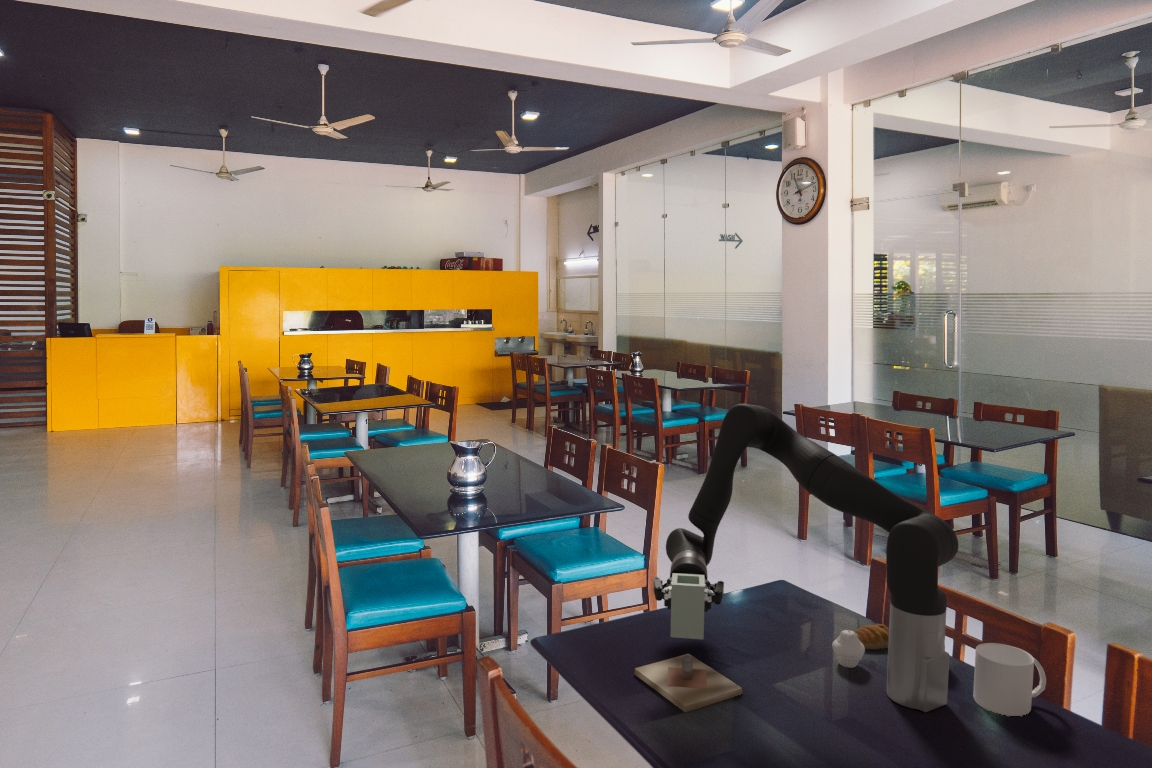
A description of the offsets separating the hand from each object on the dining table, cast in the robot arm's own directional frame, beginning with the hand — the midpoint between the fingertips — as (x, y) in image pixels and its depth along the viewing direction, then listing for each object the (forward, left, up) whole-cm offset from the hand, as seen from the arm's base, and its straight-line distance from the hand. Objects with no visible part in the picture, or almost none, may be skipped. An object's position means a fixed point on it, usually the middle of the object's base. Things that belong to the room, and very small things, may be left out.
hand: (687, 605), depth 139 cm
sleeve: (+2, -1, -6) cm, 6 cm away
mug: (-32, -47, -16) cm, 60 cm away
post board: (+2, -1, -16) cm, 16 cm away
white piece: (-7, -34, -16) cm, 39 cm away
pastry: (-3, -46, -17) cm, 49 cm away
